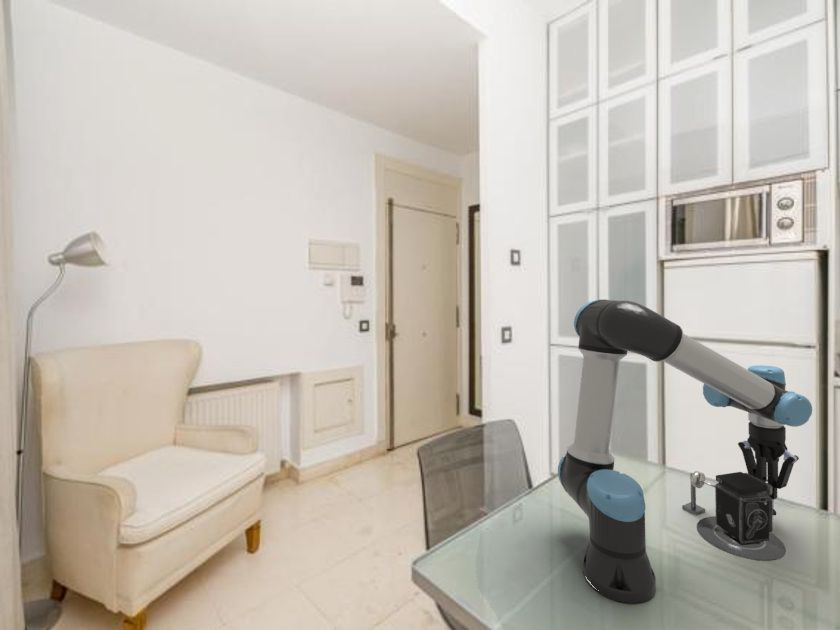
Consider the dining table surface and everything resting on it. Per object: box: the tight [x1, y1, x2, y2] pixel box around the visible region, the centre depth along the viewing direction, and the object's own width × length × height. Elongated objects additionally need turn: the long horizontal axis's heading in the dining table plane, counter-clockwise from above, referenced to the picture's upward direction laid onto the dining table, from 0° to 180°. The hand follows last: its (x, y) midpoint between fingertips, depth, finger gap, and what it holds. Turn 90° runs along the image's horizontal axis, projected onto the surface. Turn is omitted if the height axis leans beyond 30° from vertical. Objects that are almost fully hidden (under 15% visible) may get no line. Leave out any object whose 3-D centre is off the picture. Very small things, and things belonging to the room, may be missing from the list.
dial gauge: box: [681, 470, 715, 516], centre depth 114 cm, size 4×8×12 cm, turn 21°
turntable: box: [696, 515, 786, 562], centre depth 103 cm, size 18×18×1 cm
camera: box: [714, 471, 777, 543], centre depth 103 cm, size 10×11×15 cm
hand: (767, 508), depth 108 cm, fingers closed
